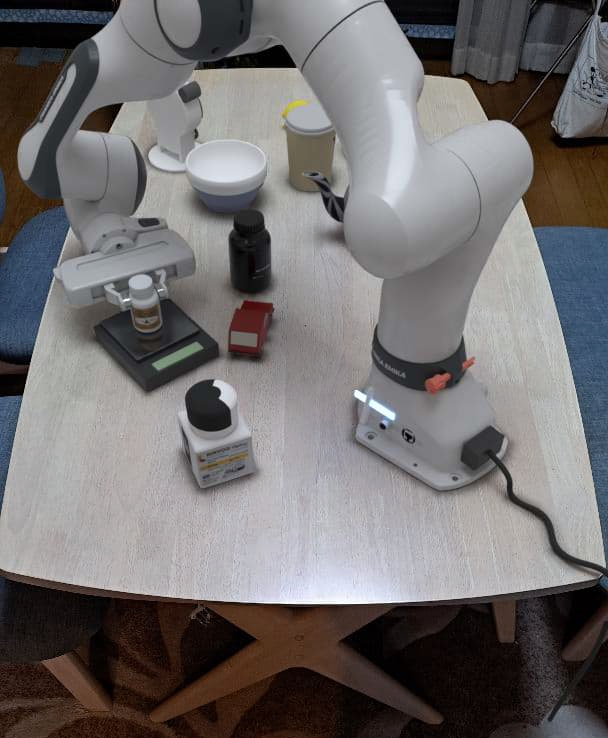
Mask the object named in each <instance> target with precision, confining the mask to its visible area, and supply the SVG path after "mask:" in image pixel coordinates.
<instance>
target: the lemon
mask: <svg viewBox="0 0 608 738" xmlns="http://www.w3.org/2000/svg"><path fill="white" fill-rule="evenodd" d="M305 104H310V103H309V102H308V101H305V100H302V99H301V100H300V99H298V100H293V101H291V102H290V103H289V104H288V105H287V106H286V107H285V108H284V110H283V111H282V113H281V117H282V118H283V120H284V121H285V118H286V116H287V114H288V112H289V111H290V110H291V109H293V108H294V107H297V106H300V105H305Z"/></svg>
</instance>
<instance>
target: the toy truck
mask: <svg viewBox="0 0 608 738" xmlns="http://www.w3.org/2000/svg"><path fill="white" fill-rule="evenodd" d="M275 309H276V308H275V307H274V303H272V302H263V301H256V300H248V299H243V301H242V304H241V306H240V308H238V307H236V308H235V309H234V313H233V316H232V319H231V321H230V324H229V327H228V340H227V341H228V342H227V348H228V350H227V352H228V354H230V355H234V356H237V355H242V356H243V355H244V356H252V357H253V358H258V359H261V358H262V354H263V348H264V344H265V340H266V338H267V334H268V332H269V331H268V330H269V327H270V326H271V325H272V321H273V315H274V312H275Z"/></svg>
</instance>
